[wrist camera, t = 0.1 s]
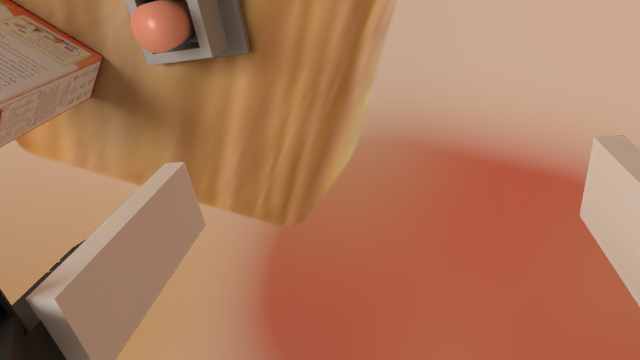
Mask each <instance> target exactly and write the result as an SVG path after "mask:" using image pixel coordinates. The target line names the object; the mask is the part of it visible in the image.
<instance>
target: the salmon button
mask: <svg viewBox="0 0 640 360" xmlns="http://www.w3.org/2000/svg"><path fill="white" fill-rule="evenodd" d="M130 24H131V30H132V33H133V36H134V38H135V39H136V41H137V42H138V43H139V44H140V45H141V46H142V47H143V48H144V49H146V50H147V51H149V52H152V53H164V52H167V51H169V50H171V49H173V48H175V47H177V46H179V45H181V44H183V43H185V42H187V41H189V40H191V39H192V38H193V37H194V35H195V34H196V32H195V28H194V24H193V21H192V17H191V14H190V10H189V7H188V3H187V2H186V1H184V0H158V1H154V2H150V3H147V4H143V5H140V6H138V7H137V8H136V9H135V10H134V11H133V13H132V16H131V21H130Z"/></svg>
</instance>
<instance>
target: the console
mask: <svg viewBox="0 0 640 360" xmlns="http://www.w3.org/2000/svg"><path fill="white" fill-rule="evenodd" d="M154 1H158V0H125V3H126V6H127V9H128V11H129V14H130V17H131V16H132V13H133V11H134V10H135V9H136V8H137V7H138V6H140V5H143V4H147V3H150V2H154ZM184 1H186V2H187V3H188V7H189V10H190V14H191V17H192V21H193V24H194V28H195V32H196V34H195V35H194V37H193V38H192V39H191V40H189V41H187V42H185V43H183V44H181V45H179V46H177V47H175V48H173V49H171V50H169V51H167V52H164V53H152V52H149V51H147V50H146V49H144V48H143V47H142V46H141V45H140V46H141V49H142V52H143V55H144V57H145V60H146V63H147V66H148V65H159V64H167V63H175V62H183V61H191V60H199V59H207V58H215V57H222V56H230V55H238V54H246V53H249V52H250V51H251V48H250V43H249V39H248V34H247V30H246V26H245V21H244V17H243V12H242V8H241V3H240V0H184Z"/></svg>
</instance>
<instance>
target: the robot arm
mask: <svg viewBox="0 0 640 360" xmlns="http://www.w3.org/2000/svg"><path fill="white" fill-rule="evenodd" d="M580 217H581V218H582V220H583V221H584V223H585V224H586V226H587V227H588V229H589V230H590V232H591V233H592V235H593V236H594V238H595V239H596V241H597V242H598V244H599V246H600V247H601V249H602V250H603V252H604V253H605V255H606V256H607V258H608V259H609V261H610V262H611V264H612V265H613V267H614V268H615V270H616V271H617V273H618V274H619V276H620V278H621V279H622V280H623V282H624V283H625V285H626V287H627V288H628V290H629V291H630V293H631V294H632V296H633V297H634V299H635V300H636V302H637V303H638V305H639V306H640V149H639V148H638V147H636V146H635V145H634V144H633V143H632V142H630V140H628V139H627V138H626V137H625V136H624V135H619V136H602V137H594V140H593V145H592V150H591V156H590V161H589V167H588V172H587V178H586V184H585V189H584V195H583V200H582V205H581V211H580ZM204 227H205V222H204V219H203V216H202V213H201V210H200V207H199V204H198V201H197V198H196V195H195V192H194V189H193V186H192V183H191V180H190V177H189V174H188V171H187V168H186V165H185V162H177V163H165V164H164V165H163V166H162V167H161V168H160V169H159V170H158V171H157V172H156V173H155V174H154V175H153V176H152V177H150V178H149V179H148V180H147V181H146V182H145V183H144V184H143V185H142V186H141V187H140V188H139V189H138V190H137V191H136V192H135V193H134V194H133V195H132V196H131V197H130V198H129V199H128V200H127V201H126V202H125V203H124V204H123V205H122V206H121V207H119V209H117V210H116V211H115V212H114V213H113V214H112V215H111V216H110V217H109V218H108V219H107V220H106V221H105V222H104V223H103V224H102V225H101V226H100V227H99V228H98V229H97V230H96V231H95V232H94V233H93V234H92V235H91V236H90V237H88V239H86V240H84V241H83V242H81V243H80V244H78V245H76V246H75V247H73V248H72V249H71V250H70V251H69V252H68V253H67V254H66V255H65V256H64V257H63V258H61V259H60V262H59V263H56V264H55V265H54V266H53V267H52V268H51V269H50V270H49V273H46V274H45V275H44V276H43V277H42V278H40V279H39V280H38V281H37V282H36V283H35V284H34V285H33V286H32V287H31V288H30V289H29V290H28V291H27V292H26V293H25V294H24V295H23V296H22V297H21V298H19V299H18V300H17V301H16V302H15V303H14V304H13V305H11V304H10V303H9V301H8V300H7V298H6V297H5V295H4V294H3V292H2V291H1V289H0V360H116V358H117V357H118V355H119V354H120V352H121V351H122V349H123V348H124V346H125V345H126V343H127V342H128V340H129V339H130V337H131V336H132V334H133V333H134V331H135V330H136V328H137V327H138V325H139V324H140V322H141V321H142V319H143V318H144V316H145V315H146V313H147V312H148V310H149V309H150V308H151V306H152V304H153V303H154V301H155V300H156V298H157V297H158V296H159V294H160V293H161V291H162V290H163V288H164V287H165V285H166V284H167V282H168V281H169V279H170V278H171V276H172V275H173V273H174V272H175V270H176V269H177V267H178V265H179V264H180V263H181V261H182V260H183V258H184V257H185V255H186V254H187V252H188V251H189V249H190V248H191V246H192V245H193V243H194V242H195V240H196V239H197V237H198V236H199V234H200V233H201V231H202V230H203V228H204Z"/></svg>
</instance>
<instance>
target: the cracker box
mask: <svg viewBox="0 0 640 360" xmlns="http://www.w3.org/2000/svg"><path fill="white" fill-rule="evenodd" d="M101 61H102V56H101V55H99V54H97V53H96V52H94V51H92V50H91V49H89V48H87V47H86V46H84V45H82V44H81V43H79V42H78V41H76V40H74V39H73V38H71V37H69V36H68V35H66V34H64V33H63V32H61V31H59V30H58V29H56V28H54V27H53V26H51V25H49V24H48V23H46V22H44V21H43V20H41V19H39V18H38V17H36V16H34V15H33V14H31V13H29V12H28V11H26V10H24V9H23V8H21V7H19V6H18V5H16V4H14V3H13V2H11V1H9V0H0V147H2V146H4V145H6V144H7V143H9V142H11V141H13V140H15V139H16V138H18V137H20V136H22V135H24V134H26V133H27V132H29V131H31V130H33V129H35V128H36V127H38V126H40V125H42V124H44V123H45V122H47V121H49V120H51V119H53V118H55V117H56V116H58V115H60V114H62V113H64V112H66V111H67V110H69V109H71V108H73V107H75V106H77V105H78V104H80V103H82V102H84V101H86V100H87V99H89V98H90V97H91V94H92V91H93V87H94V84H95V81H96V77H97V74H98V71H99V67H100V64H101Z"/></svg>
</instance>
